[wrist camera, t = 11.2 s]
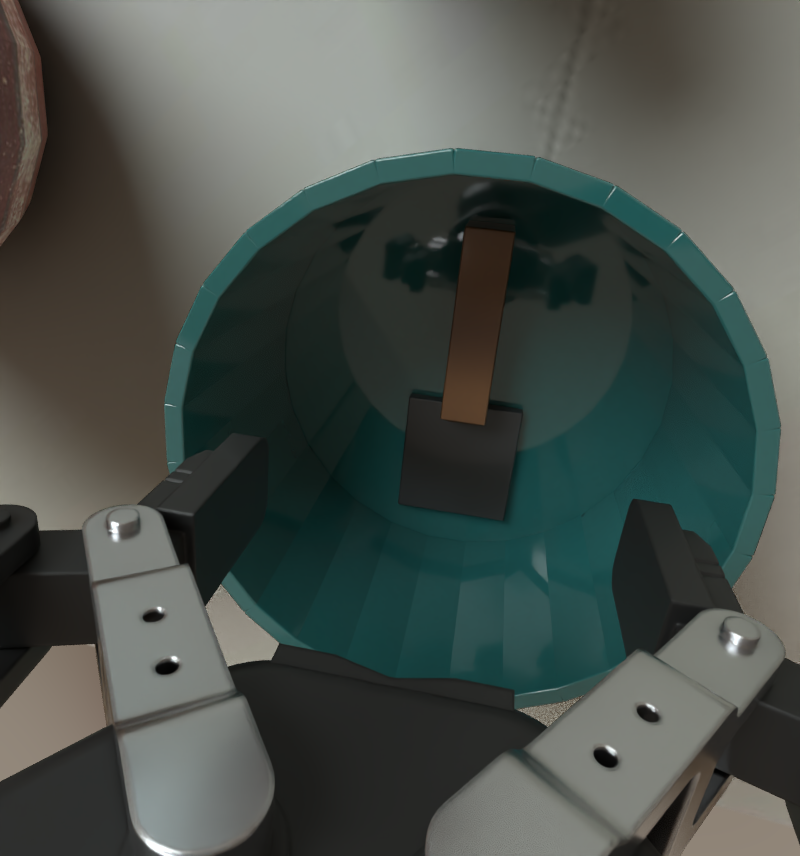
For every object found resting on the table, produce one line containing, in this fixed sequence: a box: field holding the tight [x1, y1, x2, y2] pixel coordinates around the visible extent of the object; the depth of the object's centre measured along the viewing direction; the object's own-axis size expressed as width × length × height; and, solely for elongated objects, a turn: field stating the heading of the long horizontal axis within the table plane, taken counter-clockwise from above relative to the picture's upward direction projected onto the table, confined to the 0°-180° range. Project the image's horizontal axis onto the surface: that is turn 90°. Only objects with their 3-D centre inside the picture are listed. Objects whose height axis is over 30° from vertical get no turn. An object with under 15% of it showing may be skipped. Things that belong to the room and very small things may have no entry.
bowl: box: [164, 148, 781, 709], centre depth 24 cm, size 17×17×10 cm
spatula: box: [398, 220, 523, 521], centre depth 27 cm, size 12×5×2 cm, turn 174°
